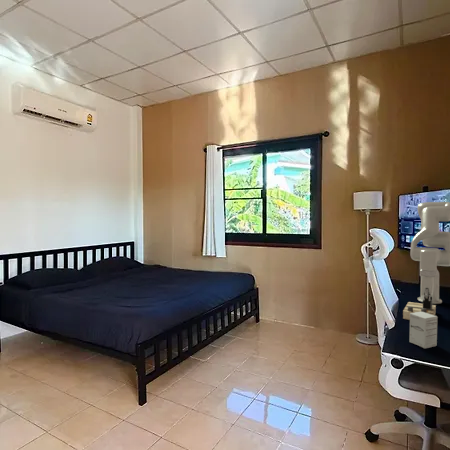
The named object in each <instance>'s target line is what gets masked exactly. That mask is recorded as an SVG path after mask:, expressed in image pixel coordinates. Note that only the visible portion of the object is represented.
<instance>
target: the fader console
mask: <svg viewBox="0 0 450 450" xmlns="http://www.w3.org/2000/svg"><path fill="white" fill-rule="evenodd" d="M436 306H437V304H432V310H430V309H424V308H423V303H422V302H421V303H419V302H411V301H408V302H407V304H406V305H405V307H404V308H403V310H402V319H404V320H408V321H410V313H415V312H421V311H422V312H425V313H428V314H431V315H434V316H436V309H437V307H436Z"/></svg>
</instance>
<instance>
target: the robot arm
mask: <svg viewBox="0 0 450 450" xmlns="http://www.w3.org/2000/svg"><path fill="white" fill-rule="evenodd" d="M417 214H418V216H419V218H420V221H421V223H420V231H418V232H417V233H416V234H415V235H414V237H412V240H411V242H410V253H409V254H410V258H411V260H413V261H415V262H419V277H420V296H419V297H417V300H418V301H419V302H421V303H422V304H423V308H426V309H430V308H431V301H430V300H432V305H439V304H442V303H443V300H442V299H441V298H440V272H439V270H438V268H437V267H440V266H441V267H450V231H440V222H450V202H449V201H427V202H425V201H424V202H421V203H419V204H418V205H417ZM420 242H422V245H423V246H425V247H420V246H418V243H420ZM439 248H443V249H439ZM423 299H424V300H423Z"/></svg>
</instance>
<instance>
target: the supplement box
mask: <svg viewBox="0 0 450 450" xmlns="http://www.w3.org/2000/svg"><path fill="white" fill-rule="evenodd" d="M408 337H409V339H408V340H409V343H411V344H414V345H417V346H419V347H420V348H423V349H429V348H432V347H433V348H434V347H436V346H437V343H438V341H437V340H438V316H437V315H435V316H434V315H431V314H428V313H425V312H422V311H421V312H415V313H410V320H409V336H408Z"/></svg>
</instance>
